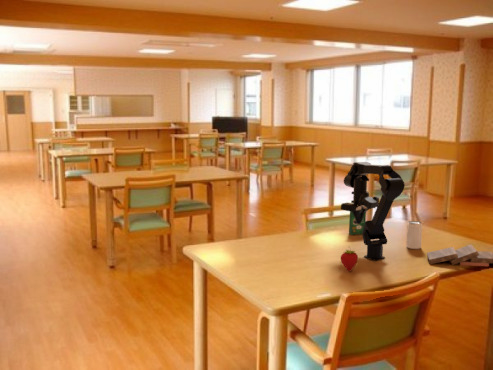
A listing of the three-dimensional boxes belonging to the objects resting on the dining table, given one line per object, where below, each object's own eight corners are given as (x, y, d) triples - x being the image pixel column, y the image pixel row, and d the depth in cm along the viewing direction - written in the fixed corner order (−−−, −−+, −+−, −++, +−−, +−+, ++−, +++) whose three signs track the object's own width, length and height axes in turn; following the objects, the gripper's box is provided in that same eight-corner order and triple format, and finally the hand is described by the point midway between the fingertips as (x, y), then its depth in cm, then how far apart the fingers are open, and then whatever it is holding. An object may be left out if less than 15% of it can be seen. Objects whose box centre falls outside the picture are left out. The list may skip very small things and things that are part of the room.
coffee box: (363, 233, 257) (363, 208, 255) (365, 234, 254) (366, 209, 252) (348, 234, 255) (349, 208, 253) (350, 235, 253) (351, 210, 251)
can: (418, 250, 226) (419, 224, 224) (404, 247, 230) (405, 222, 228) (422, 247, 231) (424, 221, 229) (409, 244, 235) (410, 220, 233)
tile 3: (470, 257, 204) (499, 258, 203) (464, 250, 214) (491, 251, 213) (470, 262, 205) (499, 263, 203) (463, 255, 214) (490, 256, 213)
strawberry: (336, 270, 198) (337, 246, 197) (350, 267, 203) (350, 243, 201) (347, 275, 194) (348, 250, 192) (361, 271, 198) (361, 247, 196)
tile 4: (460, 261, 205) (488, 263, 203) (454, 254, 215) (482, 256, 213) (460, 266, 206) (488, 268, 204) (454, 259, 215) (481, 260, 213)
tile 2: (450, 260, 205) (477, 251, 203) (445, 253, 215) (470, 244, 212) (452, 265, 205) (479, 255, 203) (447, 257, 215) (472, 248, 212)
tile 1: (429, 259, 206) (456, 253, 203) (426, 252, 216) (452, 246, 213) (430, 264, 207) (458, 258, 204) (427, 257, 216) (454, 251, 213)
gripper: (359, 194, 212) (358, 230, 214) (388, 190, 223) (386, 224, 225) (340, 190, 221) (339, 225, 223) (368, 187, 232) (367, 219, 234)
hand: (359, 223), depth 226 cm, fingers closed
